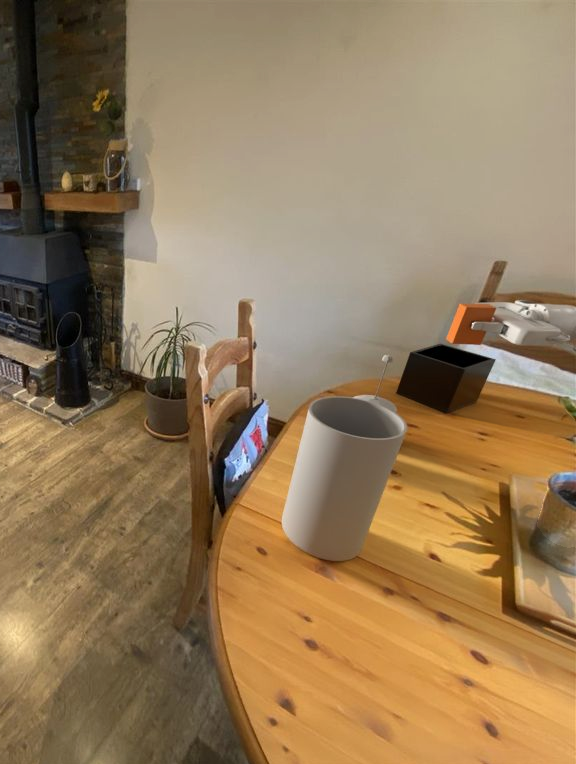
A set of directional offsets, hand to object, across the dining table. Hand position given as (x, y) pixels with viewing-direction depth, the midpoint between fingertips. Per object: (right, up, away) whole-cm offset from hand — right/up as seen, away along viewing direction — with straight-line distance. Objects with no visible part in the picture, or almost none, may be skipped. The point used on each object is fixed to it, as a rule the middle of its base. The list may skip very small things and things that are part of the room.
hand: (466, 321), depth 97 cm
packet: (+1, -5, +2) cm, 5 cm away
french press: (-30, -32, -5) cm, 44 cm away
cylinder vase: (-48, -42, -22) cm, 68 cm away
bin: (+7, -18, +16) cm, 25 cm away
